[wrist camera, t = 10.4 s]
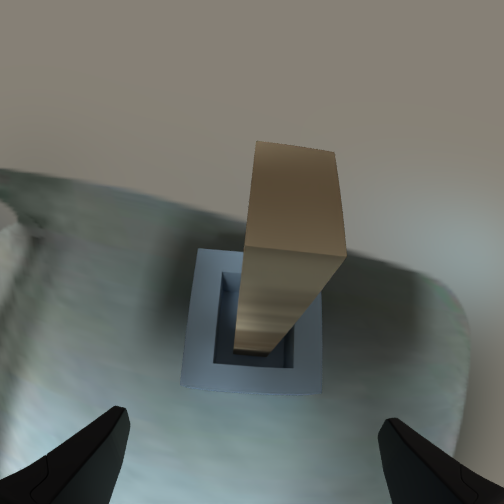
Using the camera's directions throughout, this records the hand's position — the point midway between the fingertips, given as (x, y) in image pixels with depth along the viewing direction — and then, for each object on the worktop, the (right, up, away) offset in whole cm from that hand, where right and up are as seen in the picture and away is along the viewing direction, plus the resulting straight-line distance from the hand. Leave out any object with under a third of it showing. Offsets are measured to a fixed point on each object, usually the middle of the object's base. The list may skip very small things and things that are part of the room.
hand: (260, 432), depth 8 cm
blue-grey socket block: (0, +1, +10) cm, 10 cm away
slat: (0, +1, +9) cm, 9 cm away
